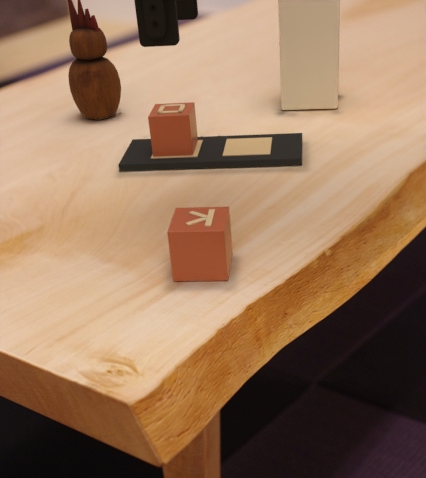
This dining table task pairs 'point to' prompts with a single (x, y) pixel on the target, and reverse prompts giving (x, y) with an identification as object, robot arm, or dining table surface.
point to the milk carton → (309, 53)
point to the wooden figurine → (91, 67)
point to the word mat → (219, 153)
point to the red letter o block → (173, 129)
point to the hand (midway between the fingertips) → (171, 31)
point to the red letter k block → (200, 244)
